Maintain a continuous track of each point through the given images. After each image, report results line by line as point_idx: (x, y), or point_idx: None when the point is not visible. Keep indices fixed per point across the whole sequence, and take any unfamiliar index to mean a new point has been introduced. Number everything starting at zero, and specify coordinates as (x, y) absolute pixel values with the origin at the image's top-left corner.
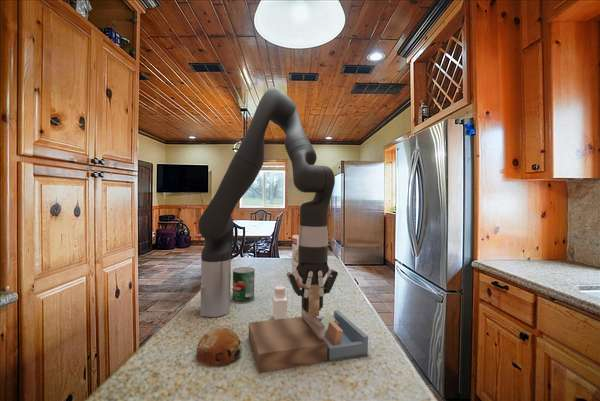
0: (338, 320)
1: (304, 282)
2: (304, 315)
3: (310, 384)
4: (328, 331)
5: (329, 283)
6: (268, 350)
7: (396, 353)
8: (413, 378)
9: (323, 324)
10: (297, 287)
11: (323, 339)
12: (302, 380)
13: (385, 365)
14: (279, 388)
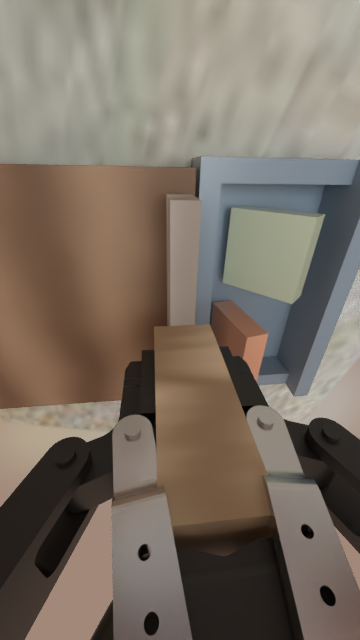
0: (337, 218)
1: (139, 542)
2: (167, 256)
3: (119, 414)
4: (228, 330)
5: (354, 543)
6: (6, 400)
7: (345, 365)
8: (298, 422)
9: (251, 247)
10: (48, 567)
11: None
12: (106, 404)
13: (287, 392)
14: (57, 415)
